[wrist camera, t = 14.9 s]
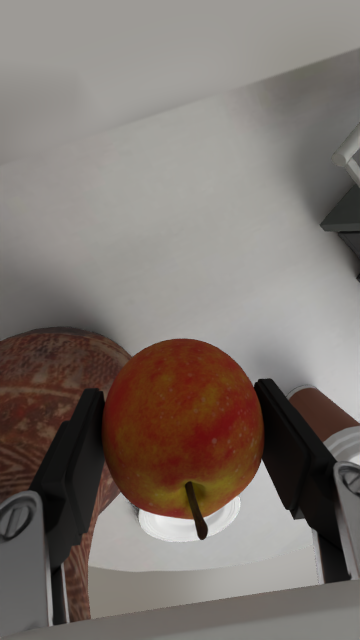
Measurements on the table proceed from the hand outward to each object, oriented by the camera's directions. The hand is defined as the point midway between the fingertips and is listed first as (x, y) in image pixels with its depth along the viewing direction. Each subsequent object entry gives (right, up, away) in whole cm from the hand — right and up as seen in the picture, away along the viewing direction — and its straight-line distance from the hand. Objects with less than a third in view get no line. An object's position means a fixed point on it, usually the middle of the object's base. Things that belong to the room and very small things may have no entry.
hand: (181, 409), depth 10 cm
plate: (+2, -34, +35) cm, 49 cm away
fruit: (0, +1, +3) cm, 3 cm away
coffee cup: (+21, -10, +27) cm, 36 cm away
